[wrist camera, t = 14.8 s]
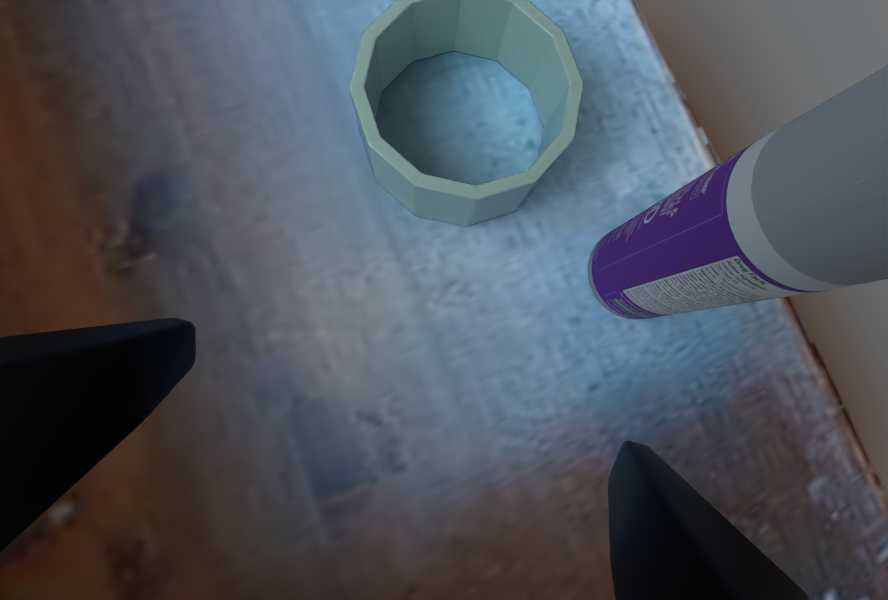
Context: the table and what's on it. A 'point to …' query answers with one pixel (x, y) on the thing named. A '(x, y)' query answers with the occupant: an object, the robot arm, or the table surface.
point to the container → (763, 218)
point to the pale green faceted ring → (484, 35)
